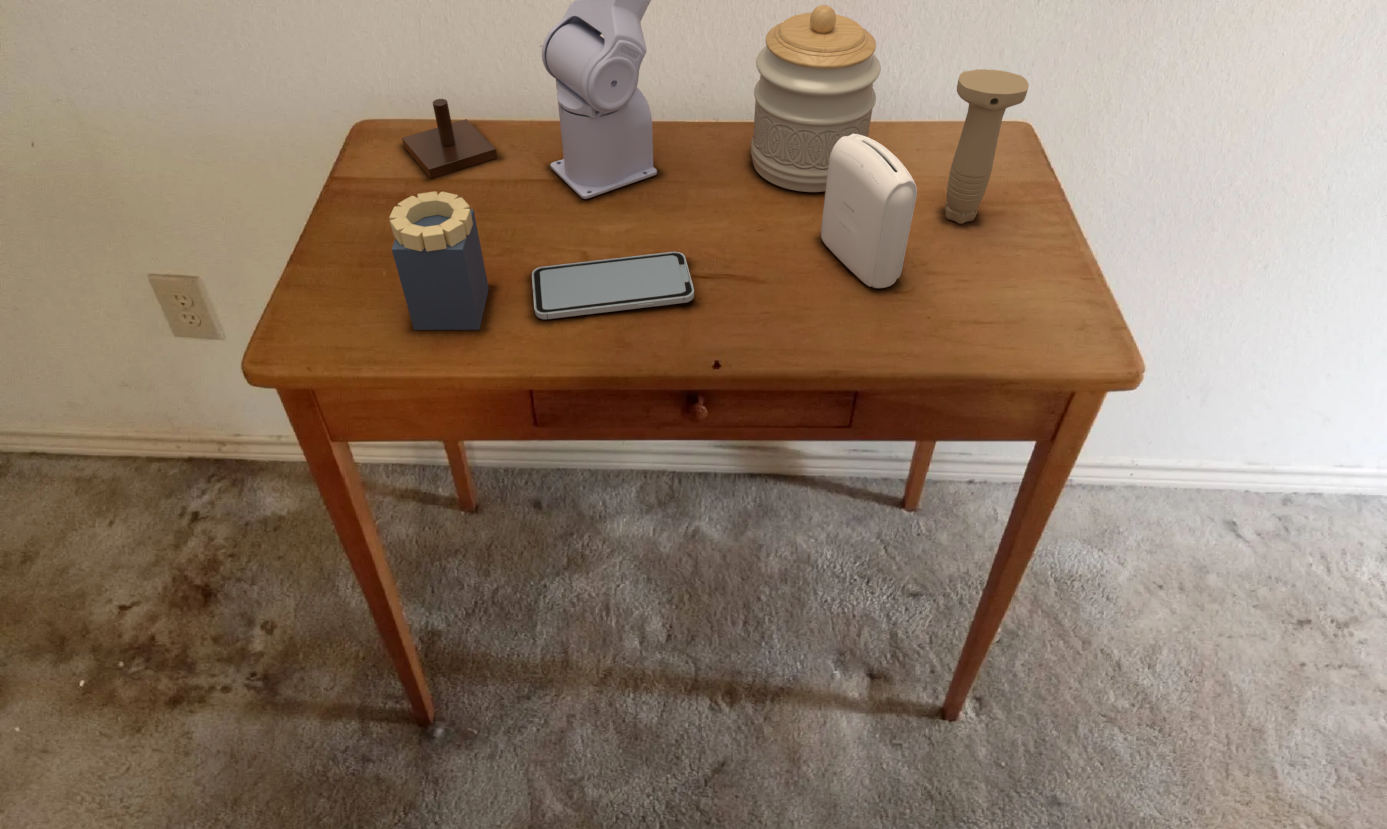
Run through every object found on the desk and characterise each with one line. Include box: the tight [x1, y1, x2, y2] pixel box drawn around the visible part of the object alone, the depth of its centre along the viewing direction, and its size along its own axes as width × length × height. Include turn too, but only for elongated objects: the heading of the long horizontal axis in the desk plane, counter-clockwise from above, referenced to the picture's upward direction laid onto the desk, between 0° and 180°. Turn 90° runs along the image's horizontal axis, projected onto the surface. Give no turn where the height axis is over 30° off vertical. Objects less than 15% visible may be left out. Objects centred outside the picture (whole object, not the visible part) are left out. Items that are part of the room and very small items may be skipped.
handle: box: [944, 68, 1030, 225], centre depth 92 cm, size 5×6×15 cm
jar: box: [750, 4, 882, 193], centre depth 98 cm, size 13×13×18 cm
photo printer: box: [820, 134, 918, 289], centre depth 87 cm, size 10×4×12 cm, turn 26°
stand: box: [401, 98, 498, 179], centre depth 103 cm, size 8×8×6 cm
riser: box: [391, 208, 490, 331], centre depth 83 cm, size 6×6×9 cm
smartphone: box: [531, 251, 695, 320], centre depth 88 cm, size 7×1×15 cm
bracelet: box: [388, 190, 473, 252], centre depth 79 cm, size 7×7×2 cm
